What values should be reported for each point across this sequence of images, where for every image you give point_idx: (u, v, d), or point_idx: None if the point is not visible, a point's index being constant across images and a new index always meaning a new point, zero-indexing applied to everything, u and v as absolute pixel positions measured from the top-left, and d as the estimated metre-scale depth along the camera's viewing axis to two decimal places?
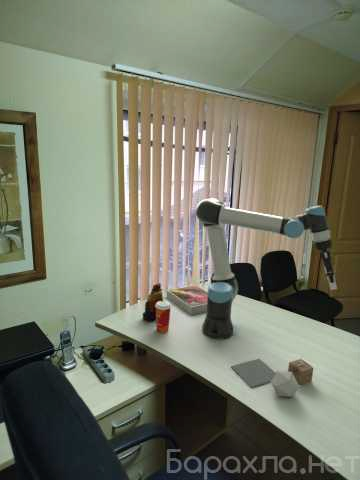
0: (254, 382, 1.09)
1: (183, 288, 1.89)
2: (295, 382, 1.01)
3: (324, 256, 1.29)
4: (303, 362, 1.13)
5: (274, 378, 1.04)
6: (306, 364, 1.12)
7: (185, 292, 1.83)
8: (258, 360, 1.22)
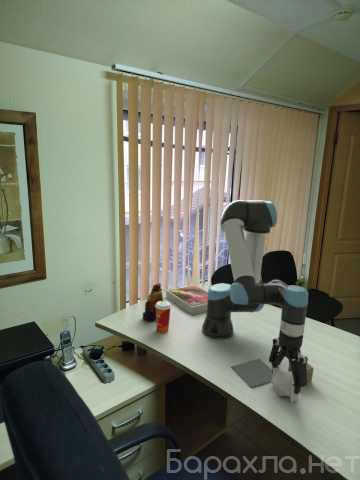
0: (254, 382, 1.09)
1: (183, 288, 1.88)
2: None
3: None
4: None
5: (274, 378, 1.04)
6: None
7: (185, 292, 1.83)
8: (258, 360, 1.22)
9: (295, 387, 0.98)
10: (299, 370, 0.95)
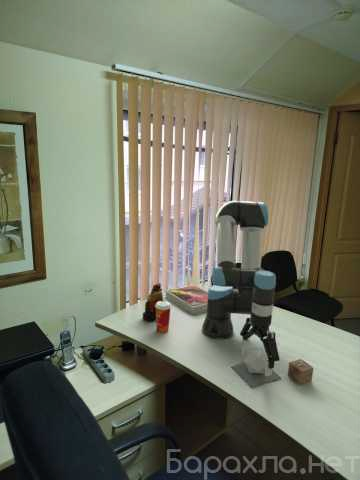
0: (254, 382, 1.09)
1: (182, 288, 1.88)
2: (264, 360, 1.12)
3: None
4: (303, 362, 1.13)
5: (246, 357, 1.15)
6: (306, 364, 1.12)
7: (185, 292, 1.83)
8: None
9: (269, 362, 1.06)
10: (269, 345, 1.05)
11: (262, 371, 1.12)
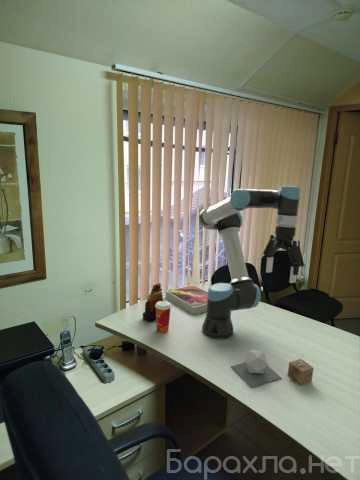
0: (254, 382, 1.09)
1: (182, 288, 1.88)
2: (264, 360, 1.12)
3: None
4: (303, 362, 1.13)
5: (247, 357, 1.15)
6: (306, 364, 1.12)
7: (184, 292, 1.82)
8: None
9: (294, 269, 1.13)
10: (294, 252, 1.12)
11: (262, 371, 1.12)
